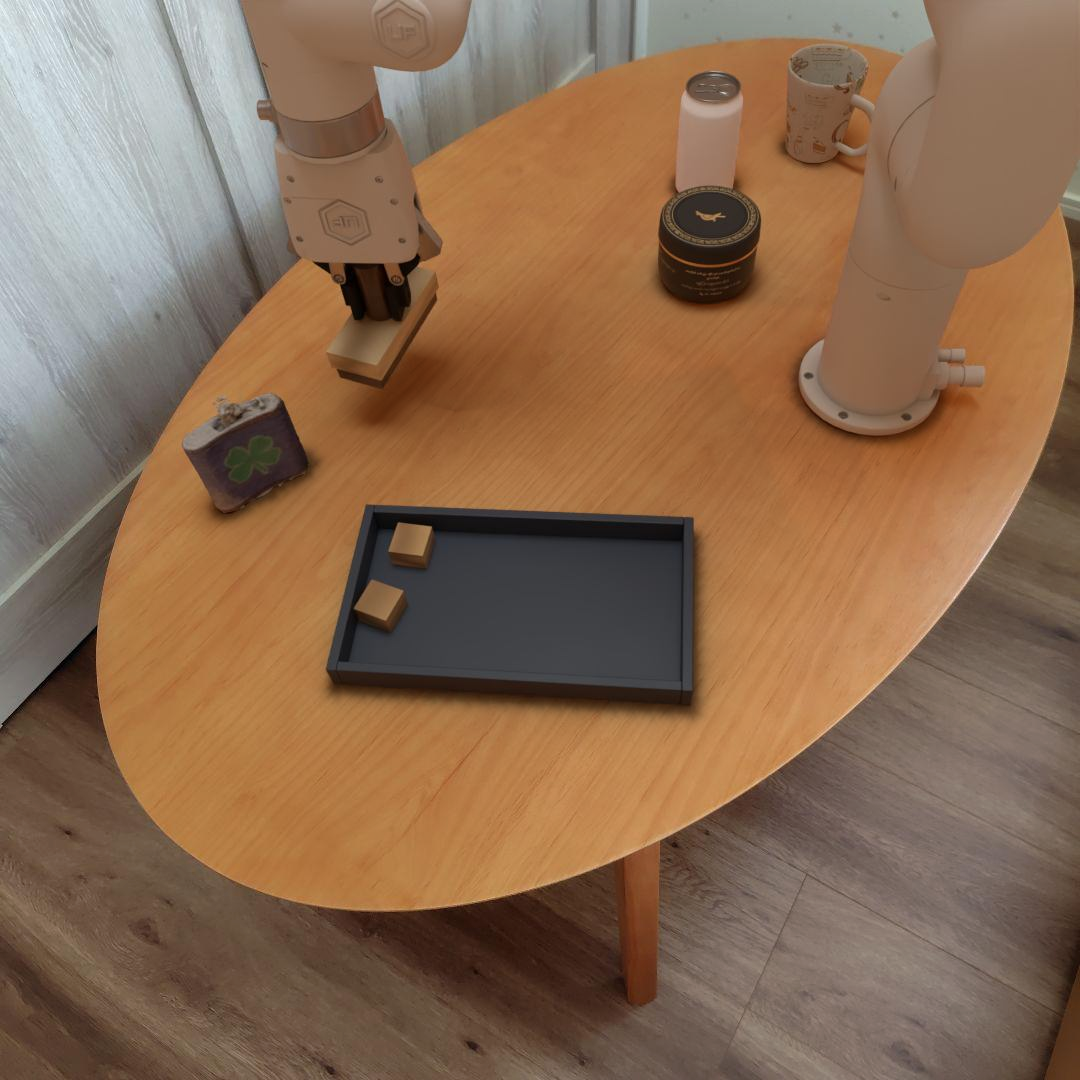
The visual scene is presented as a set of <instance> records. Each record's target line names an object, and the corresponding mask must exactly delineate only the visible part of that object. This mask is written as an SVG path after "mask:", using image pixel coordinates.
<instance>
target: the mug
mask: <svg viewBox="0 0 1080 1080" xmlns="http://www.w3.org/2000/svg"><path fill="white" fill-rule="evenodd" d="M868 72H869V63H868V60H867V58H866V57H865V56H864V55H863V54H862V52H859V51H858V50H856V49H854V48H852V47H849V46H846V45H842V44H836V43H815V44H811V45H807V46H805V47H802V48H800V49H798V50H797V51H796V52H794V53H793V54H792V55H791V57H790V59H789V60H788V64H787V82H786V83H787V88H786V119H785V149H786V151H787V154H788V155H789V156H790V157H791V158H792V159H794V160H797V161H799V162H802V163H808V164H821V163H825V162H828V161H830V160H832V159H834V158H835V157H836V156H837V155H838V153H839V152H840V153H842V154H843V155H845V156H847V157H849V158H856V159H857V158H861V157H866V156H867V150H868V141H869V139H868V140H867V142H865V144H863V145H862V146H860V147H858V148H852V147H850V146H848V145H846V144H844V143H843V141H844V138H845V135H846V132H847V130H848V127H849V125H850V121H851V120H852V116H853V113H854V111H855V109H857V110H859V111H862V112H863V113H864V114H865V115H866V116H867V119H868V120H869V124H870V125H871V122H872V117H873V112H874V109H875V105H874V104H873V103H872V102H871V101H869V100H868V99H867V98H865V97H862V96H861V92H862V89H863V86H864V83H865V81H866V78H867V76H868Z"/></svg>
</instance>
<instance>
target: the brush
mask: <svg viewBox="0 0 1080 1080" xmlns="http://www.w3.org/2000/svg"><path fill="white" fill-rule="evenodd" d="M351 264H352V267H353V271H354V274H355V277H356V281H357V284H358V287H359V290H360V294H361V297H362V300H363V304H364V307H365V314H364V317H363V319H361V320H354V318H353V314H352V312H351V313H350V315H349V316H348V318H347V320H346V321H345V322H344V323H343V325H342V327H341V328H340V329H339V332H338V333H337V335H336V336H335V337H334V339H333V340H332V342H331V343H330V344H329V347H328V348H327V349H326V351H325V353H326V356H327V358H328V362H329V364H330V367H331V368H332V369H333V368H334V369H336V371H337V373H338V376H339V378H340V379H342V380H343V379H344V380H347V381H351V382H354V383H358V384H362V385H366V386H369V387H372V388H375V389H380V390H384V389H385V387H386V385H387V384H388V382H389V380H390V379H391V377H392V375H393V374H394V372H395V371H396V369H397V368H398V366H399V364H400V362H401V360H402V359H403V357H404V355H405V354H406V353H407V351H408V350H409V348H410V347H411V344H413V343H412V342H413V341H414V340H415V338H416V337H417V335H418V333H419V331H420V330H421V328H422V326H424V325H423V324H424V323H425V321H426V320H427V318H428V316H429V315H430V313H431V312H432V310H433V308H434V307H435V305H436V303H437V301H438V295H437V291H438V289H439V288H440V285H439V281H438V276H437V272H436V270H434V269H433V270H432V269H429V268H425V267H419V266H417V267H416V268H415V269H414V270H413V271H412V272H411V273H410V274H409V275H408V276H407V277H408V282H409V286H410V291H411V304H410V307H405V310H404V314H403V317H402V321H395V320H393V318H392V314H391V310H390V306H389V302H388V298H387V294H386V290H385V285H386V281H387V272H386V269H385V266H384V263H351Z"/></svg>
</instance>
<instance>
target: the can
mask: <svg viewBox="0 0 1080 1080" xmlns="http://www.w3.org/2000/svg"><path fill="white" fill-rule="evenodd" d="M741 89H742V83H741V81H740V80H739V78H737V77H736V76H735V75H733V74H731V73H728V72H727V71H720V70H706V71H702V72H698V73H695V74H694V75H692V76H691V77H690V78H688V80H687V81H686V83H685V89H684V91H683V93H682V95H681V98H680V105H679V119H678V120H679V121H678V123H679V124H678V132H677V133H678V135H677V136H678V137H677V148H676V149H677V151H676V168H675V188H676V191H677V193H679V192H681V191H684V190H686V189H690V188H693V187H698V186H722V187H727V188H731V189H733V188H734V181H735V174H736V167H737V158H738V152H739V151H738V150H739V143H740V135H741V126H742V116H743V107H744V97H743V93H742V91H741Z"/></svg>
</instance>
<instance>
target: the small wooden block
mask: <svg viewBox="0 0 1080 1080" xmlns="http://www.w3.org/2000/svg"><path fill="white" fill-rule="evenodd" d="M407 604H408V602H407V599H406V596H405V593H404V591H403V590H400V589H398V588H395V587H392V586H389V585H386V584H384V583H381V582H378V581H375V580H373V579H372V580H371V581H370V583H369V584H368V586H367V588H366V589H365V591H364V592H363V594H362V596H361V597H360V599H359V601H358V602H357V604H356V605H355V607H354V611H355V613H356V615H357V617H358V620H359V621H361V622H364V623H366V624H369V625H372V626H374V627H377V628H380V629H382V630H385V631H388V632H391V631H392V629H393V628H394V626H395V624H396V623H397V621H398V619H399V618H400V616H401V614H402V612H403V611H404V609H405V607H406V606H407Z"/></svg>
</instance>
